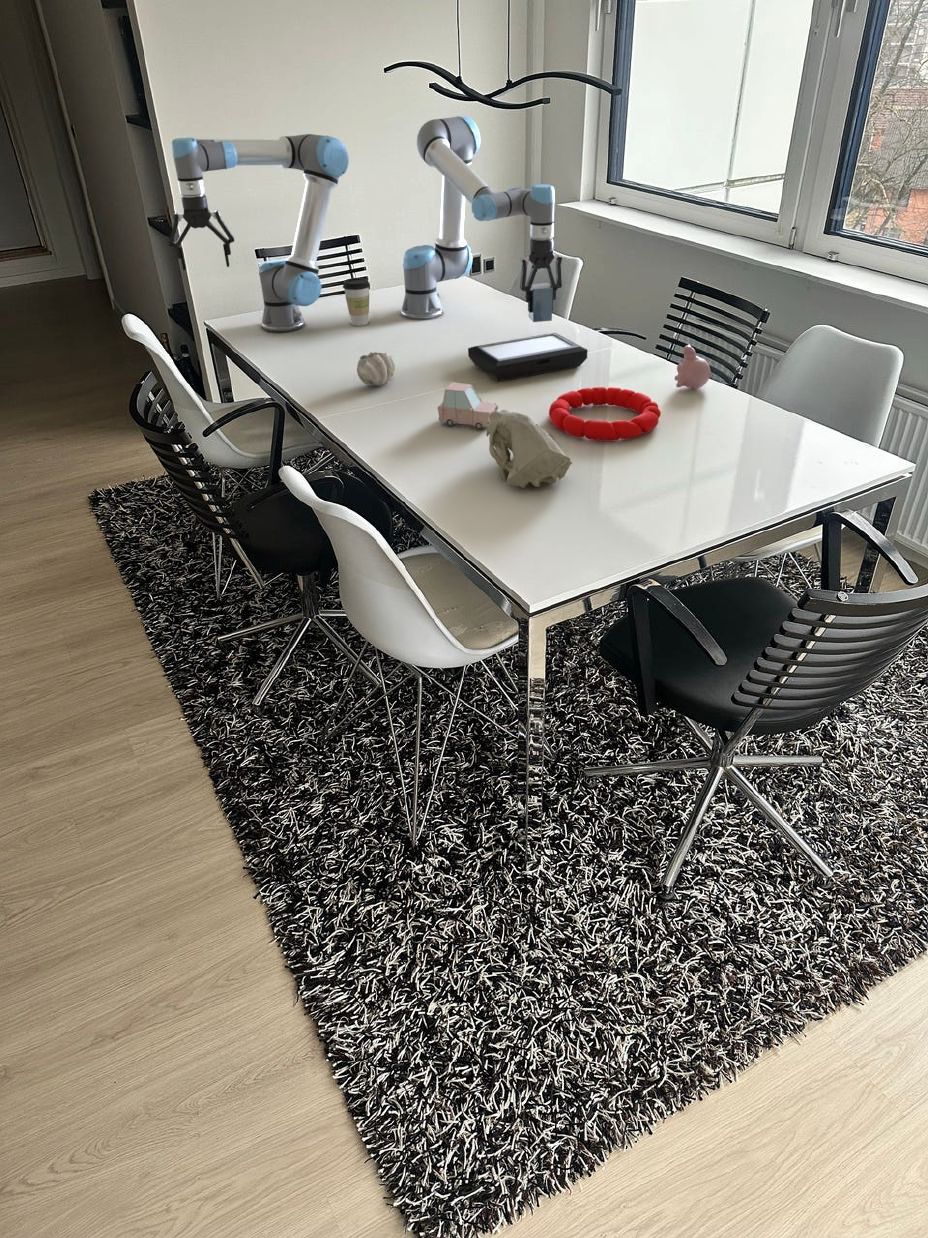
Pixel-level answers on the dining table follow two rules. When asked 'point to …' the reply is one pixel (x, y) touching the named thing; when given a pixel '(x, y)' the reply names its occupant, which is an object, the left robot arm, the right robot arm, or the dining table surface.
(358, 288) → the coffee cup
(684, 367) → the figurine
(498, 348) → the electronic device
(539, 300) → the block
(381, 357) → the seashell
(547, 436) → the animal skull
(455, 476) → the dining table surface
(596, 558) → the dining table surface
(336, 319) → the dining table surface
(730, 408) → the dining table surface
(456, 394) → the toy car
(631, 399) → the decorative ring
